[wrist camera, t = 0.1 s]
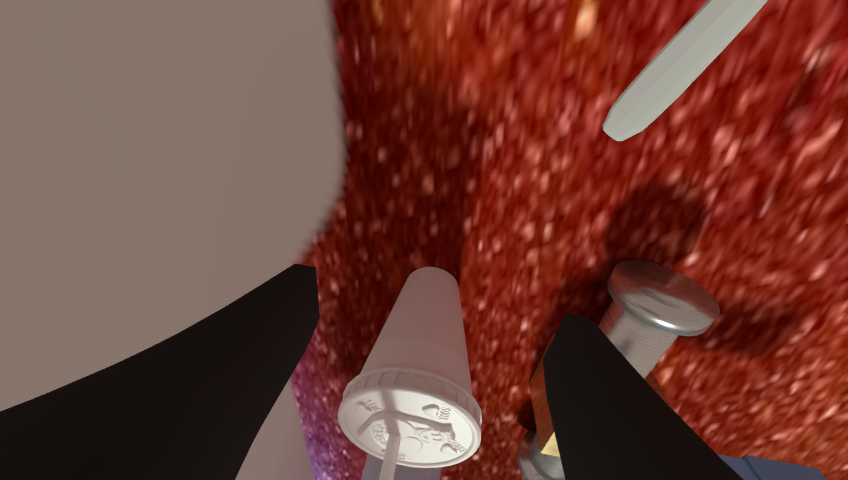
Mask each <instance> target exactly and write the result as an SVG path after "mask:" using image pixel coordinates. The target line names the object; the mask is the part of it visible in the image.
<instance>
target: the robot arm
mask: <svg viewBox="0 0 848 480" xmlns="http://www.w3.org/2000/svg"><path fill="white" fill-rule="evenodd" d="M319 318H320V316H319V303H318V290H317V277H316V267H311V266H306V265H300V264H294V265H292V266H291V267H289V268H287V269H286V270H284V271H282V272H281V273H279V274H278V275H276V276H274V277H273V278H271V279H270V280H268V281H267V282H265V283H263V284H262V285H260V286H259V287H257V288H255V289H254V290H252V291H250V292H249V293H247V294H245V295H244V296H242V297H241V298H239V299H237V300H236V301H234V302H232V303H231V304H229V305H228V306H226V307H224V308H222V309H221V310H219V311H217V312H215V313H213V314H212V315H210V316H208V317H207V318H205V319H203V320H201V321H199V322H197V323H196V324H194V325H192V326H191V327H189V328H187V329H185V330H183V331H181V332H180V333H178V334H176V335H174V336H172V337H170V338H168V339H166V340H164V341H162V342H160V343H158V344H156V345H154V346H152V347H150V348H148V349H146V350H144V351H142V352H140V353H137V354H136V355H133V356H131V357H129V358H127V359H125V360H123V361H121V362H118V363H116V364H114V365H112V366H110V367H107V368H105V369H103V370H100V371H98V372H96V373H93V374H91V375H89V376H86V377H84V378H82V379H80V380H77V381H75V382H72V383H70V384H68V385H65V386H63V387H61V388H58V389H56V390H53V391H51V392H49V393H46V394H44V395H41V396H39V397H37V398H34V399H32V400H29V401H26V402H24V403H21V404H19V405H16V406H14V407H11V408H8V409H6V410H3V411H1V412H0V480H235V478H236V476H237V474H238V472H239V470H240V468H241V465H242V463H243V461H244V459H245V457H246V455H247V453H248V451H249V449H250V447H251V444H252V442H253V441H254V439H255V437H256V435H257V433H258V431H259V430H260V428H261V426H262V424H263V422H264V420H265V419H266V417H267V415H268V414H269V412H270V410H271V409H272V407H273V405H274V403H275V402H276V400H277V398H278V396H279V395H280V393H281V392H282V390H283V388H284V386H285V385H286V383H287V381H288V380H289V378H290V376H291V375H292V373H293V371H294V369H295V368H296V366H297V364H298V363H299V361H300V359H301V357H302V356H303V354H304V352H305V350H306V348H307V346H308V344H309V342H310V339H311V337H312V335H313V333H314V330H315V328H316V325H317V323H318V321H319ZM543 368H544V380H545V388H546V397H547V401H548V406H549V410H550V415H551V419H552V424H553V428H554V433H555V437H556V441H557V446H558V450H559V454H560V459H561V463H562V467H563V471H564V476H565V480H744V479H743V478H742V477H741V476H739V475H738V474H737V473H736V472H735V471H734V470H733V469H732V468H731V467H730V466H729V465H728V464H727V463H726V462H724V461H723V460H722V459H721V458H720V457H719V456H718V455H717V454H716V453H715V452H714V451H713V450H712V449H711V448H710V447H709V446H708V445H707V444H706V443H705V442H704V441H703V440H702V439H701V438H700V437H699V436H698V435H697V434H696V433H695V432H694V431H693V430H692V429H691V428H690V427H689V426H688V425H687V424H686V423H685V422H684V421H683V420H682V419H681V418H680V417H679V416H678V415H677V414H676V413H675V412H674V411H673V410H672V409H671V407H670V406H669V405H668V404H667V403H666V402H665V401H664V400H663V399H662V398H661V397H660V396H659V395H658V394H657V392H656V391H655V390H654V389H653V388H652V387H651V386H650V385H649V384H648V383H647V382H646V380H645V379H644V378H643V377H642V376H641V375H640V374H639V373H638V372H637V370H636V369H635V368H634V367H633V366H632V365H631V364H630V363H629V361H628V360H627V359H626V358H625V357H624V356H623V355H622V353H621V352H620V351H619V350H618V349H617V348H616V347H615V345H614V344H613V343H612V342H611V341H610V340H609V339H608V337H607V336H606V335H605V334H604V333H603V332H602V331H601V330H600V328H599V327H598V326H597V325H596V324H595V323H594V322H593V321H592V320H591V319H590V318H589V317H587V316H582V315H576V314H571V313H566V315H565V317H564V319H563V321H562V323H561V325H560V327H559V329H558V331H557V333H556V335H555V337H554V339H553V341H552V342H551V344H550V346H549V348H548V350H547V352H546V354H545V356H544V358H543ZM382 463H383V460H382V459H380V458H377V457H375V456H373V455H371V454H369V453H368V455H367V459H366V463H365V467H364V471H363V474H362V478H361V480H379V477H380V473H381V468H382ZM440 474H441V467H438V468H418V467H409V466H403V465H399V464H396V468H395V474H394V479H393V480H440Z"/></svg>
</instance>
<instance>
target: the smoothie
mask: <svg viewBox="0 0 848 480" xmlns="http://www.w3.org/2000/svg"><path fill="white" fill-rule="evenodd" d="M338 421H339V424H340V427H341V429H342V430H343V432H344V434H345V435H346V436H347V437H348V438H349V439H350V441H352V442H353V443H354V444H355V445H356V446H358V447H359V448H361V449H362V450H364V451H365V452H367V453H369V454H371V455H373V456H375V457H377V458H380V459H382V460H383V463H382V468H381V473H380V477H379V480H393V479H394V474H395V468H396V464H399V465H403V466H409V467H418V468H438V467H445V466H450V465H453V464H457V463H460V462H462V461H463V460H465V459H467V458H469V457H470V456H471V455H472V454H473V453H475V451H476V450H477V449H478V447H479V445H480V441H481V424H482V414H481V409H480V407H479V405H478V403H477V401H476V400H475V398H474V397H473V396H472V389H471V379H470V373H469V365H468V358H467V350H466V342H465V334H464V326H463V318H462V311H461V303H460V295H459V287H458V283H457V281H456V280H455V278H454V277H453V276H452V275H451V274H450V273H448V272H447V271H445V270H443V269H440V268H436V267H423V268H420V269H417V270H415V271H414V272H412V273H411V274H410V275H409V277H408V278H407V280H406V282H405V284H404V286H403V288H402V290H401V292H400V294H399V296H398V298H397V300H396V302H395V304H394V306H393V308H392V310H391V312H390V314H389V316H388V318H387V320H386V322H385V324H384V326H383V328H382V330H381V332H380V334H379V337H378V339H377V341H376V343H375V345H374V347H373V349H372V351H371V353H370V354H369V356H368V358H367V360H366V362H365V364H364V367H363V369H362V371H361V373H360V375H357V376H356V377H355V378H354V379H353V380H352V381H351V382H349V383H348V385H347V387H346V389H345V391H344V393H343V400H342V402H341V405H340V408H339V411H338Z"/></svg>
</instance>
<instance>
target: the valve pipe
mask: <svg viewBox="0 0 848 480" xmlns="http://www.w3.org/2000/svg"><path fill="white" fill-rule="evenodd" d="M607 289H608V292H609V294H610V295H611V297H612V298H613V300H612V302H611V304H610V305H609V307H608V309H607V311H606V312H605V314H604V316H603V318H602V319H601V321H600V323H599V324H598V327H599V328H600V330H601V331H602V332H603V333H604V334H605V335H606V336H607V337H608V339H609V340H610V341H611V342H612V343H613V344H614V345H615V347H616V348H617V349H618V350H619V351H620V352H621V353H622V355H623V356H624V357H625V358H626V359H627V360H628V361H629V363H630V364H631V365H632V366H633V367H634V368H635V369H636V370H637V372H638V373H639V374H640V375H641V376H642V377H643V378H644V379H645V380H646V382H647V383H648V384H649V385H650V386H651V387H652V388H653V389H654V390H655V391H656V392H657V394H658V395H659V396H660V397H661V398H662V399H663V400H664V401H665V402H666V403H667V404H668V405H669V406H670V407H671V405H670V403H669V401H668V399H667V398H666V396H665V394H664V392H663V390H662V389H661V387H660V385H659V383H658V381H657V380H656V378H655V376H654V374H653V372H652V369H653V368H654V366H655V365H656V364H657V363H658V361H659V360H660V359H661V358H662V356H663V355H664V354H665V352H666V351H667V350H668V349H669V347H670V346H671V345H672V344H673V342H674V341H675V340H676V339H677V337H678V336H679V335H681V336H697V335H701V334H702V333H704V332H705V331H706V330H707V329H708V328H709V327H710V325H711V324H712V323H713V322H714V321H715V320H716V318H717V317H718V316H719V314H720V308H719V305H718V303H717V301H716V300H715V299H714V297H713V296H712V295H711V294H710V293H709V292H708V291H707V290H705V289H704V288H703V287H702V286H700V285H699V284H698V283H696V282H695V281H693V280H692V279H690V278H688V277H686V276H685V275H683V274H681V273H679V272H677V271H674V270H672V269H670V268H667V267H664V266H662V265H658V264H655V263H651V262H647V261H641V260H624V261H621V262H619V263H618V264H616V266H615V268H614V269H613V271H612V273H611V275H610V277H609V279H608V281H607ZM555 335H556V333H553V334H552V336H551V338H550V340H549V343H548V345H547V347H546V349H545V351H544V353H543V355H542V357H541V359H540V361H539V364H538V366H537V368H536V370H535V372H534V374H533V376H532V378H531V380H530V383H529V386H530V392H531V398H532V404H533V410H534V416H535V422H536V428H537V429H533V430H530V431H528V432H527V433H526V434H525V435H524V436H523V438H522V440H521V442H520V444H519V446H518V449H517V461H518V465H519V468H520V471H521V473H522V475H523V476H524V478H525V479H526V480H565V476H564V471H563V467H562V463H561V459H560V454H559V450H558V446H557V441H556V437H555V433H554V428H553V424H552V419H551V415H550V410H549V406H548V401H547V397H546V388H545V380H544V368H543V358H544V356H545V354H546V352H547V350H548V348H549V346H550V344H551V342H552V341H553V339H554V337H555ZM671 409H672V410H673V408H672V407H671ZM673 411H674V410H673Z"/></svg>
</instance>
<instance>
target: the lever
mask: <svg viewBox="0 0 848 480" xmlns="http://www.w3.org/2000/svg"><path fill="white" fill-rule="evenodd" d="M717 455H718V456H719V457H720V458H721V459H722V460H723V461H724V462H726V463H727V464H728V465H729V466H730V467H731V468H732V469H733V470H734V471H735V472H736V473H737V474H738V475H739V476H741V477H742V478H743V479H744V480H827V479H826V478H825V477H824V476H823V475H822V473H821V472H820V471H819V470H818V469H816V468H811V467H806V466H801V465H795V464H790V463H785V462H779V461H774V460H769V459H764V458H758V457H753V456H748V455H745V456H743V457H742V458H741V459H740V458H735V457H729V456H724V455H719V454H717Z"/></svg>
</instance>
